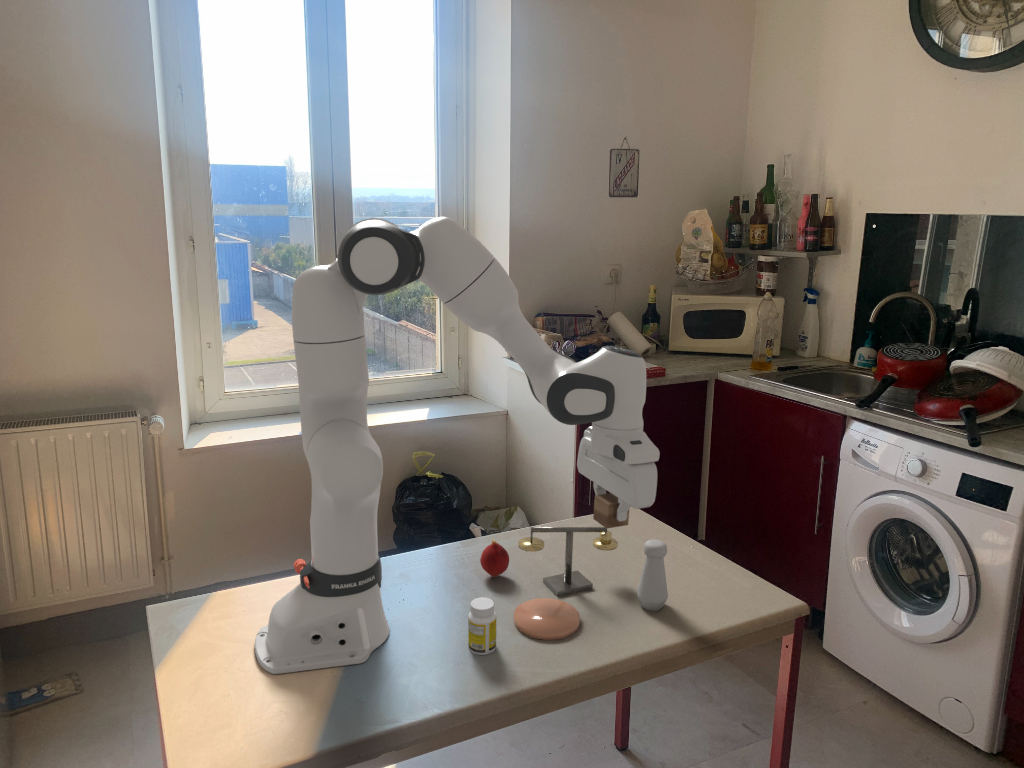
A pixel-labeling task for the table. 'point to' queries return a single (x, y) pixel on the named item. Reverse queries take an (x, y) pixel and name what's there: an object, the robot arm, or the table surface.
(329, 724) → the table surface
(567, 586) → the balance
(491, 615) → the supplement bottle
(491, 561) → the onion
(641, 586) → the salt shaker
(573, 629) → the dish
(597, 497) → the block
